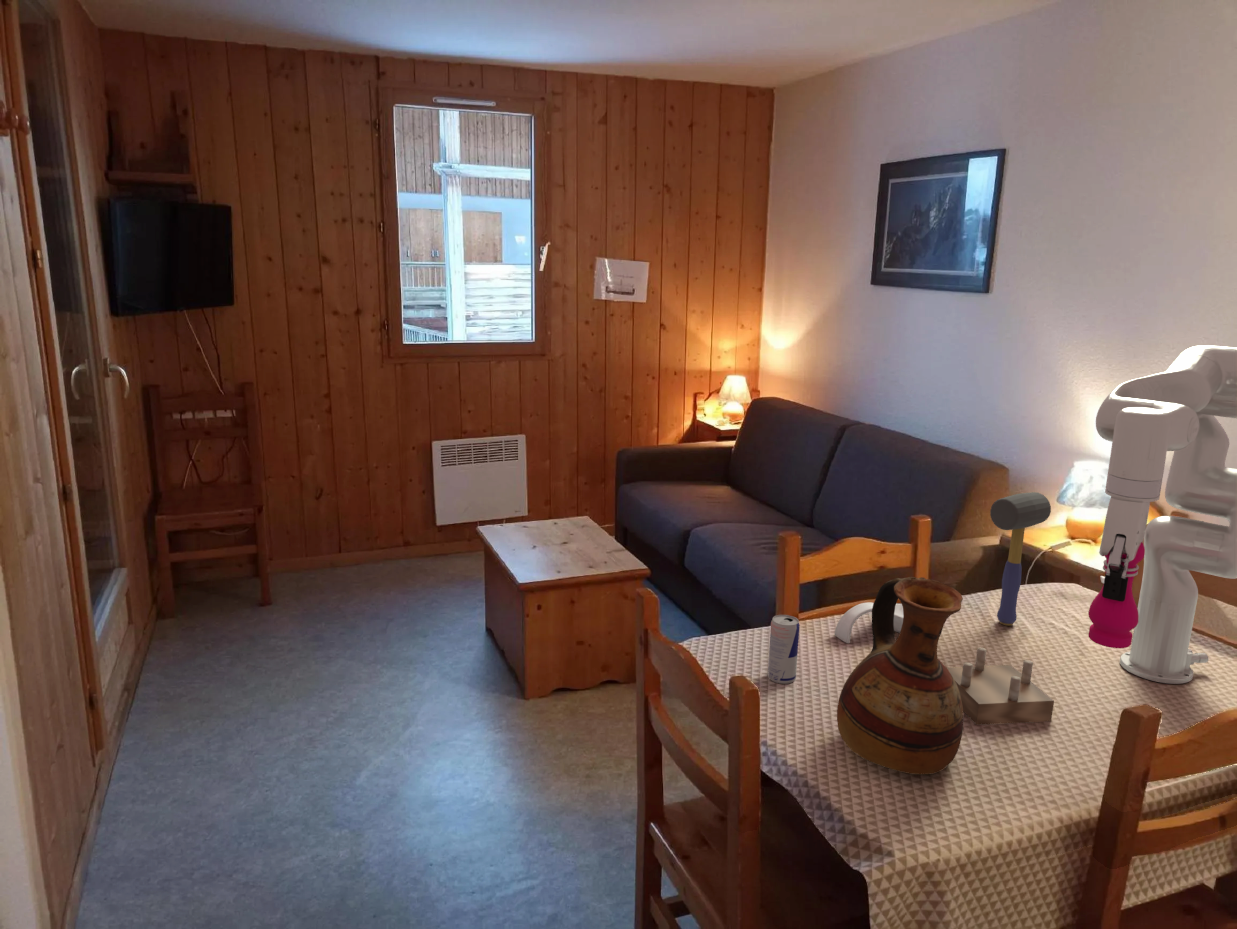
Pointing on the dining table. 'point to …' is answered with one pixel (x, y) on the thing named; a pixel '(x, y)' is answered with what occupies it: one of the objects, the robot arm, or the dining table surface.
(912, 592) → the ceramic pitcher
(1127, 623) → the pepper mill
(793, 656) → the energy drink
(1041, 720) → the peg stand
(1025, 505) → the rubber mallet
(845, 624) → the white arch
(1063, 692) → the dining table surface
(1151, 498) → the robot arm
